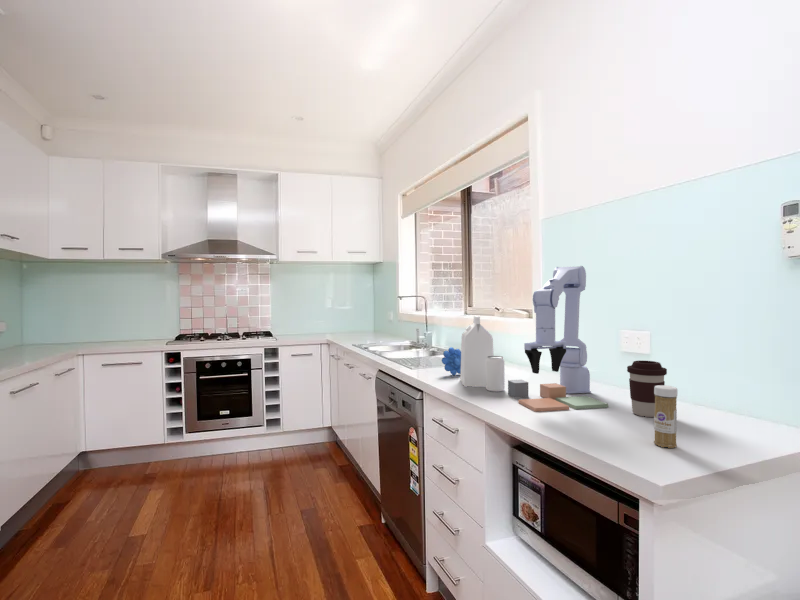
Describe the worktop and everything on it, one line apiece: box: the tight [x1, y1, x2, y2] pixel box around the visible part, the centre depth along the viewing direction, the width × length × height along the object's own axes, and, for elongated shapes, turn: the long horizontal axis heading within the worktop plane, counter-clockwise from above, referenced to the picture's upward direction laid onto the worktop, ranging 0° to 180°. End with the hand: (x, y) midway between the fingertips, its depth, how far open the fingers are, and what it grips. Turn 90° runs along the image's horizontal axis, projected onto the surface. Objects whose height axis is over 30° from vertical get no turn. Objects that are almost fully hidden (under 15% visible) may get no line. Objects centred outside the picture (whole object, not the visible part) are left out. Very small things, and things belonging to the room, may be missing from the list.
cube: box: [507, 379, 529, 398], centre depth 154 cm, size 5×5×5 cm
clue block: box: [539, 382, 567, 400], centre depth 151 cm, size 6×6×4 cm
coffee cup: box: [626, 360, 668, 418], centre depth 130 cm, size 10×10×15 cm
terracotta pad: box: [517, 397, 570, 413], centre depth 140 cm, size 11×11×1 cm
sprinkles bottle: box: [653, 384, 678, 449], centre depth 103 cm, size 5×5×14 cm
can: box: [485, 355, 506, 393], centre depth 163 cm, size 6×6×12 cm
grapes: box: [441, 346, 461, 376], centre depth 193 cm, size 12×7×12 cm, turn 113°
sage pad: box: [556, 395, 609, 410], centre depth 142 cm, size 11×11×1 cm
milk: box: [459, 315, 495, 388], centre depth 175 cm, size 12×12×26 cm
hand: (545, 372), depth 140 cm, fingers open, 7 cm apart
